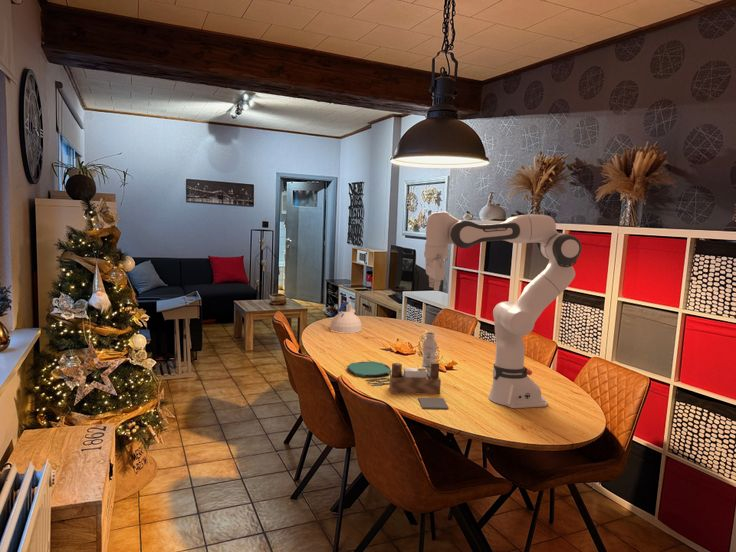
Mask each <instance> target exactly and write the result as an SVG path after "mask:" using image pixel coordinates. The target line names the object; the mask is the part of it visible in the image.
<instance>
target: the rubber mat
mask: <svg viewBox="0 0 736 552" xmlns="http://www.w3.org/2000/svg"><path fill="white" fill-rule="evenodd" d="M417 400H418V402H419V405H420V407H421V406H422V407H421V408H422V410H424V409H425V410H449V409H450V408H449V406H448V404H447V402H446V401H445V399H444V398H443V397H418V398H417Z"/></svg>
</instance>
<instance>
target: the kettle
mask: <svg viewBox="0 0 736 552" xmlns="http://www.w3.org/2000/svg"><path fill="white" fill-rule="evenodd" d="M345 306H347V307H348V309H347V310H348V311H343V309H344V308H345ZM337 311H338V314H336V315H335V316H334V317H333V318H332V320H331V322H330V325H329V326H330V327H329V330H330V329H331V330H333V331H337V332H344V333H355V332H359V331H361V330H362V331H363V328H362V327H363V325H362V320H361V319H360V318H359V316H357V315H356V314H355V313H356V310H355V308H353V306H352V303H351V302H349V301H345V302H344V303H342V304H341V305H340V307H339V308H338V310H337ZM342 311H343V312H342ZM362 331H361V332H362ZM355 334H356V333H355Z"/></svg>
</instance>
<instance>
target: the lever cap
mask: <svg viewBox="0 0 736 552" xmlns="http://www.w3.org/2000/svg"><path fill="white" fill-rule="evenodd" d="M403 374H404V377H405V378H427V370H426V368H425V367H422V366H417V367H403Z"/></svg>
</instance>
